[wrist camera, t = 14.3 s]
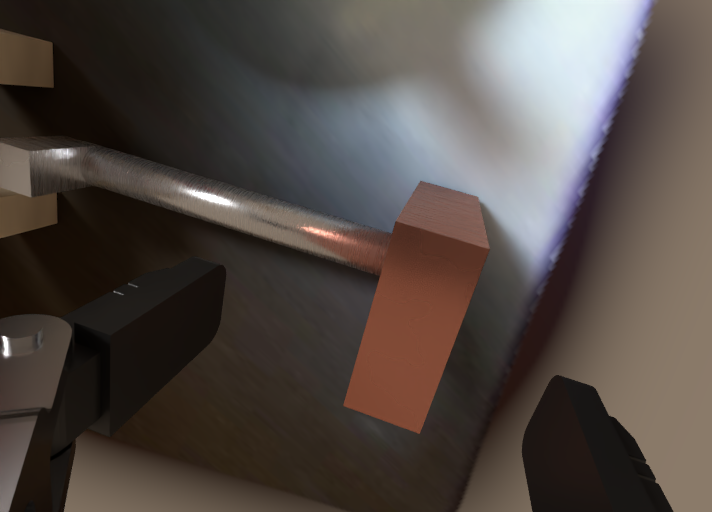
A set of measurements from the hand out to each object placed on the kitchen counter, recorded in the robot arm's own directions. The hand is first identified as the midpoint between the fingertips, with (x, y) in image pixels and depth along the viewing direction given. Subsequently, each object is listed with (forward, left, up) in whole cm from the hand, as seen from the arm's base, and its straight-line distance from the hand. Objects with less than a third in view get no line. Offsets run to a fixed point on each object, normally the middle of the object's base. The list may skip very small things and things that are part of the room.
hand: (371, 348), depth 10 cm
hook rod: (0, -7, -9) cm, 11 cm away
